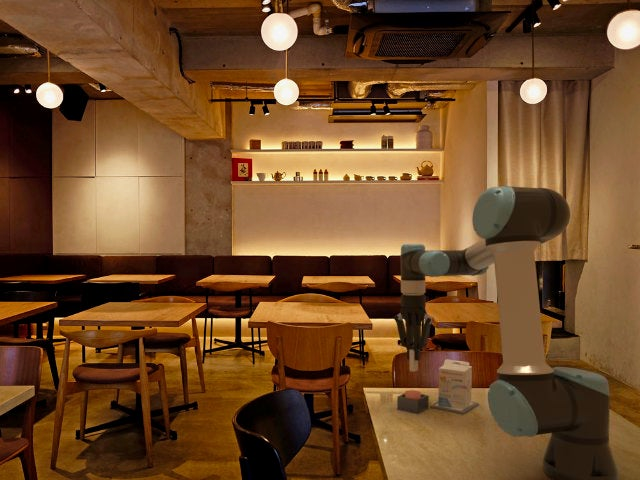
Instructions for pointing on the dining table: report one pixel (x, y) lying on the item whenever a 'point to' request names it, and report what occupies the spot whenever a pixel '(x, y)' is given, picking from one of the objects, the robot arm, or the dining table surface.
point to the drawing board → (455, 410)
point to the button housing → (413, 404)
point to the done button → (413, 394)
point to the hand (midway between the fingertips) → (413, 370)
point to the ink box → (455, 384)
